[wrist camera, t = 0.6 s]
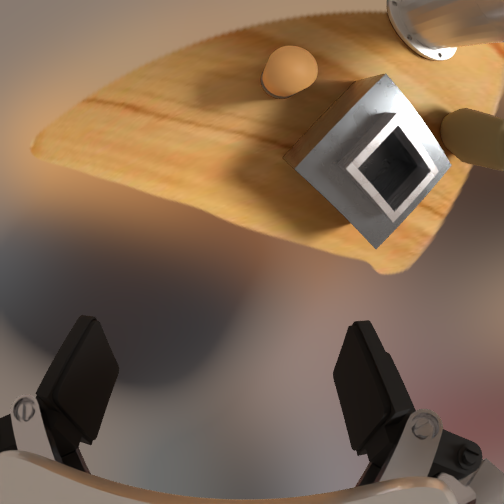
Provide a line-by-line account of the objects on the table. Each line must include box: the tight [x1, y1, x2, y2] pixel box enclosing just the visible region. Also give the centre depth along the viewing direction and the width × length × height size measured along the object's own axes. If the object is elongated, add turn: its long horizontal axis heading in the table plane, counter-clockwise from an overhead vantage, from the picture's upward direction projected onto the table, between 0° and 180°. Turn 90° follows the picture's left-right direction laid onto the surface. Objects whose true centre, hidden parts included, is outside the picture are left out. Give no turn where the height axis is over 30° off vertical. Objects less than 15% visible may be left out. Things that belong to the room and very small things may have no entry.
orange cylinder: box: [261, 45, 318, 99], centre depth 23 cm, size 4×4×9 cm
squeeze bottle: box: [440, 108, 504, 171], centre depth 21 cm, size 8×8×18 cm
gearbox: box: [283, 74, 451, 249], centre depth 27 cm, size 14×13×10 cm
